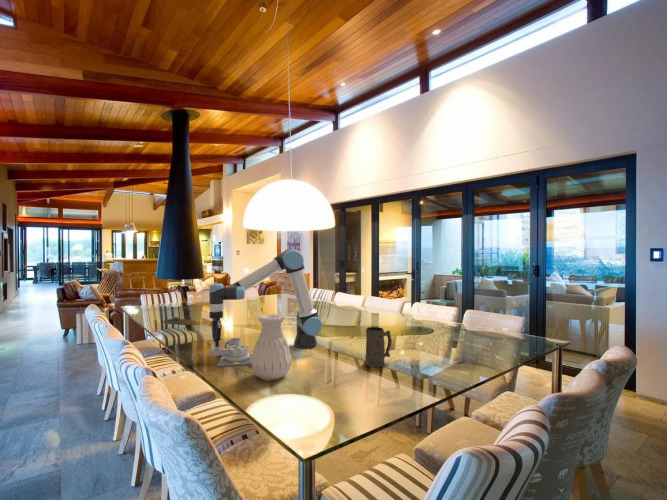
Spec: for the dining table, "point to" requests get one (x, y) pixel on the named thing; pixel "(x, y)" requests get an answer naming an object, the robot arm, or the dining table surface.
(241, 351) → the grey lumpy block
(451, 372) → the dining table surface
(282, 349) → the vase
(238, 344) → the cup
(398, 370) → the dining table surface
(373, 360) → the beer stein
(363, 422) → the dining table surface
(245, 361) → the housing
